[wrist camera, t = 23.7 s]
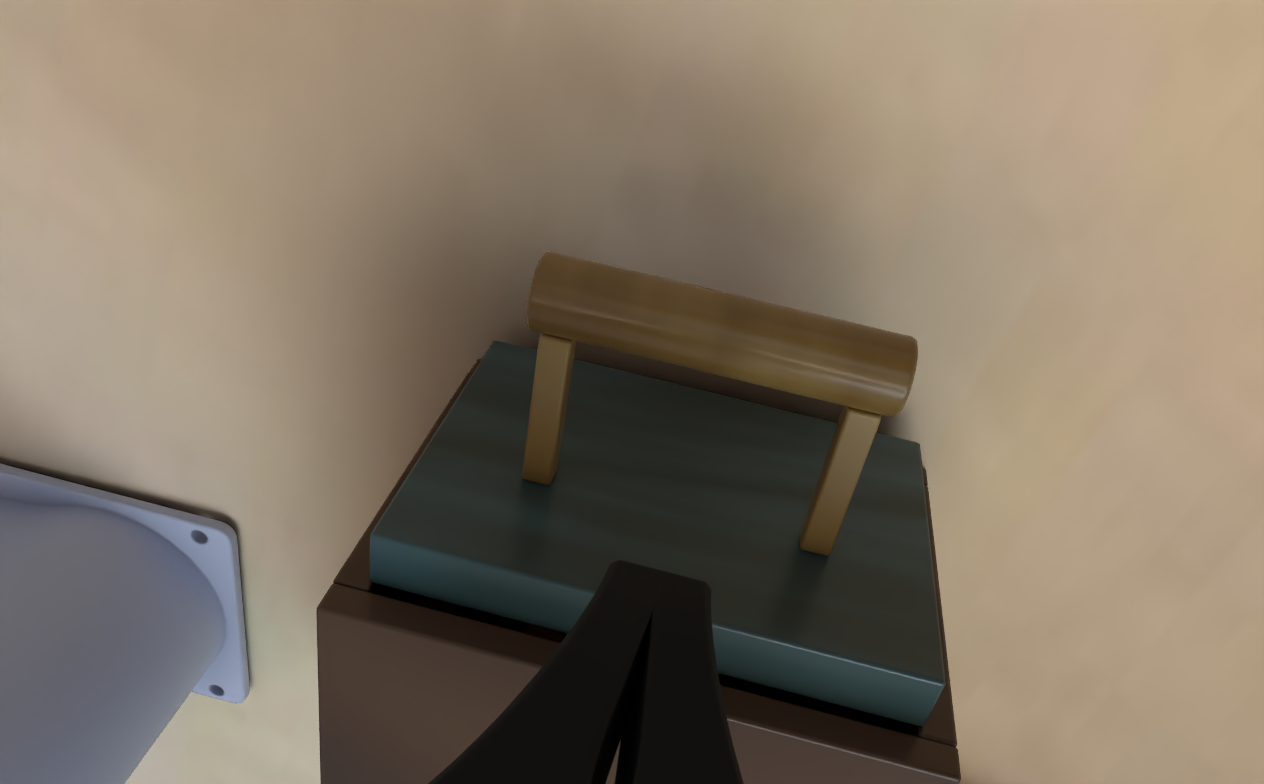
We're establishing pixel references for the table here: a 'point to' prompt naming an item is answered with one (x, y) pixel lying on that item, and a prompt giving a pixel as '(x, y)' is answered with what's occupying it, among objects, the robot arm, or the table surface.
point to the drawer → (687, 488)
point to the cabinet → (508, 660)
